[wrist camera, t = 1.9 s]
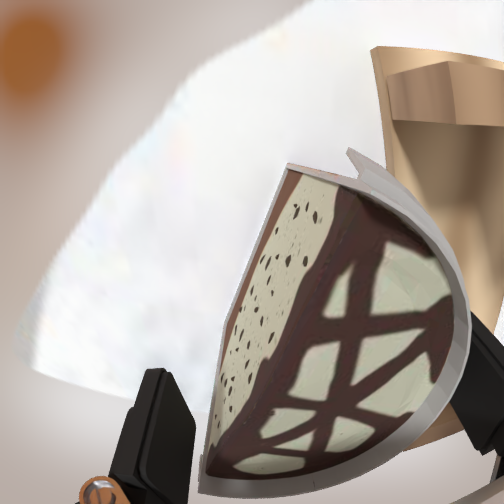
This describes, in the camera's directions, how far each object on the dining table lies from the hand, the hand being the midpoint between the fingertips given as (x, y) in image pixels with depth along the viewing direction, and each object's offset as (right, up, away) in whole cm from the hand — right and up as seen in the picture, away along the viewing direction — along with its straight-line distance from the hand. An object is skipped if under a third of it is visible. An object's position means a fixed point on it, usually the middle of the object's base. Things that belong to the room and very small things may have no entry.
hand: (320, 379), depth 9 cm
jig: (+10, +5, +6) cm, 12 cm away
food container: (+1, +3, +7) cm, 8 cm away
